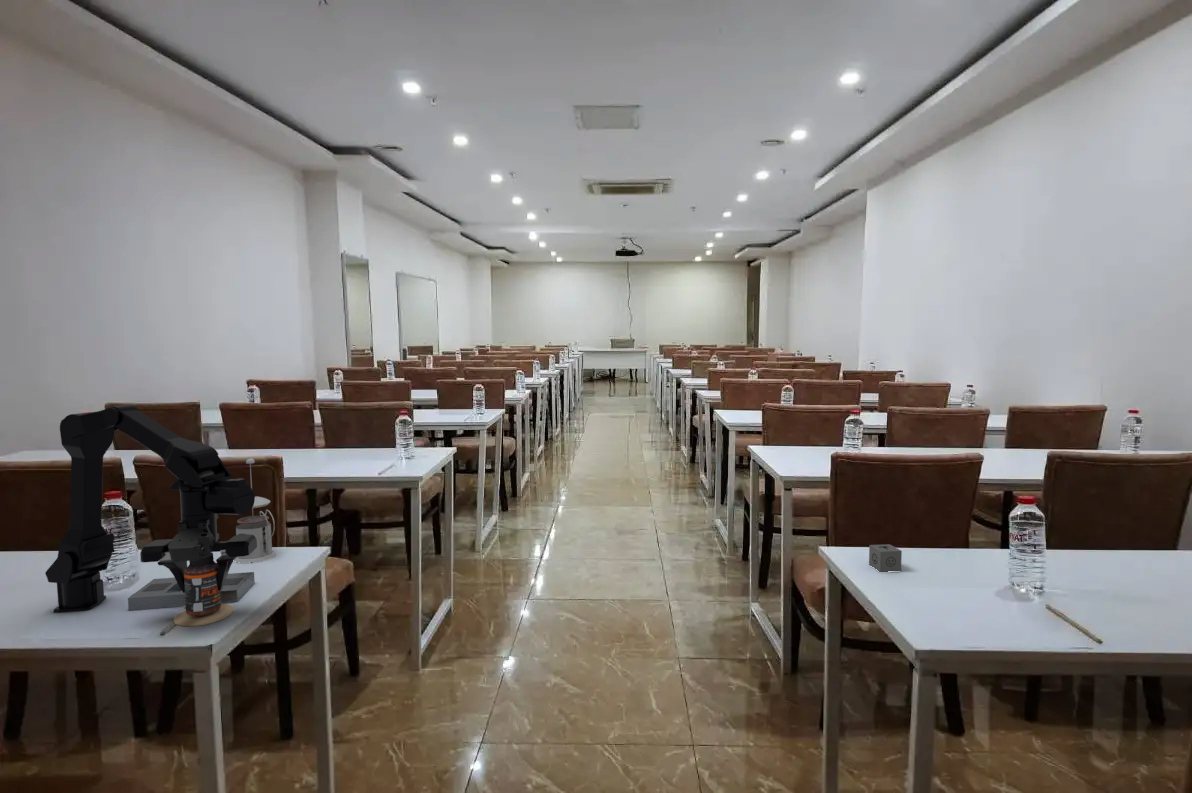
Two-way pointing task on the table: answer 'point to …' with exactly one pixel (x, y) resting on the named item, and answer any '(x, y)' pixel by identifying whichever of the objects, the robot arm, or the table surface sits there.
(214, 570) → the supplement bottle
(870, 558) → the dice cube
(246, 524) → the french press
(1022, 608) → the table surface
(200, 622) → the cork coaster
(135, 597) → the grey compartment tray
